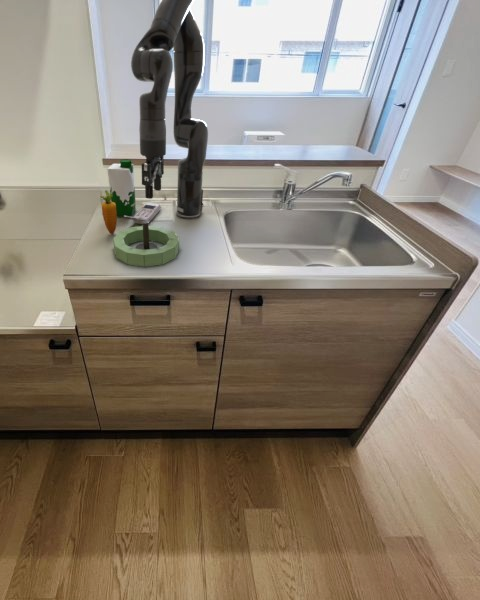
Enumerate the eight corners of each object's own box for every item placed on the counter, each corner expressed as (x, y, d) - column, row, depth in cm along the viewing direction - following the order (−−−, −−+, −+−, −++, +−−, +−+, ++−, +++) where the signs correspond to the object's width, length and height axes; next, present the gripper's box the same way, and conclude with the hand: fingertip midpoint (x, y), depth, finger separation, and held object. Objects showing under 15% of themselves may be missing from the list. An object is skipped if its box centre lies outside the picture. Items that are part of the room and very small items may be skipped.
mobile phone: (122, 215, 108) (148, 192, 127) (124, 231, 112) (149, 207, 131) (139, 218, 107) (162, 194, 126) (139, 234, 111) (162, 209, 130)
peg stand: (147, 243, 105) (146, 215, 99) (162, 250, 101) (161, 222, 95) (131, 250, 101) (129, 222, 95) (145, 257, 97) (144, 229, 91)
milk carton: (132, 218, 121) (129, 163, 109) (110, 217, 122) (103, 162, 110) (138, 210, 128) (135, 158, 116) (116, 209, 129) (111, 156, 117)
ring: (149, 231, 112) (148, 220, 110) (190, 250, 101) (191, 239, 99) (102, 250, 101) (100, 238, 98) (143, 273, 90) (143, 261, 87)
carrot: (116, 238, 107) (111, 194, 98) (102, 237, 108) (96, 193, 99) (121, 232, 111) (117, 189, 102) (108, 231, 112) (102, 188, 103)
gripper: (158, 142, 84) (158, 202, 93) (172, 134, 95) (170, 188, 104) (131, 140, 85) (134, 199, 95) (148, 132, 96) (149, 186, 106)
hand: (153, 194), depth 99 cm, fingers open, 8 cm apart
